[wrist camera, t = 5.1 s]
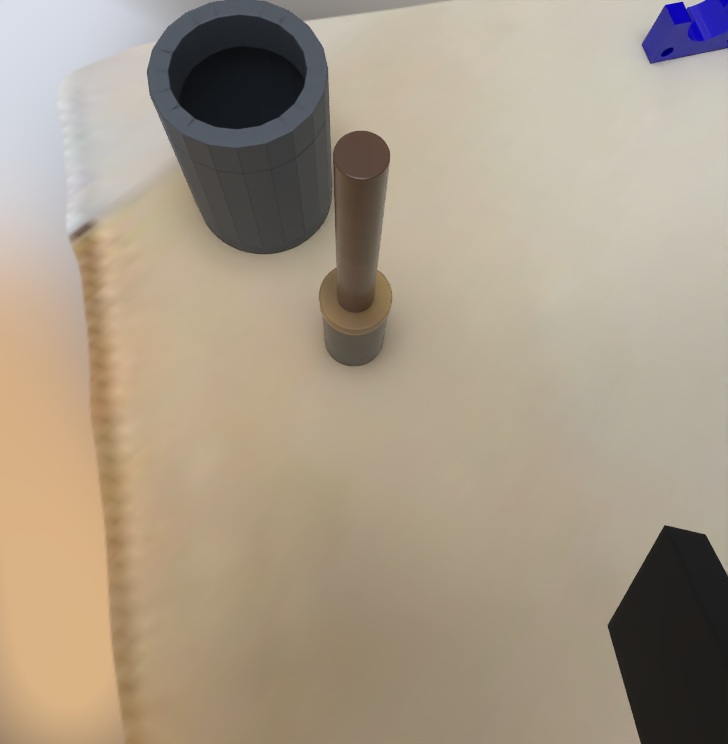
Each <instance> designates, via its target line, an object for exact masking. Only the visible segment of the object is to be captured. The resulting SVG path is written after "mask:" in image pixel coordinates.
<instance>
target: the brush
mask: <svg viewBox="0 0 728 744" xmlns="http://www.w3.org/2000/svg"><path fill="white" fill-rule="evenodd" d="M333 163H334V197H335V231H336V265H337V268H335V269H334V270H332V271H331V272H330V273H329V274H328V275H327V276H326V277H325V279H324V280H323V282H322V284H321V287H320V292H319V301H320V309H321V312H322V315H323V326H324V336H325V344H326V348H327V350H328V352H329V353H330V355H331V356H332V357H333V358H334V359H335V360H337V361H338V362H340V363H342V364H345V365H349V366H359V365H363V364H366V363H368V362H370V361H371V360H373V359H374V358H375V357H376V356H377V354H378V353H379V351H380V349H381V347H382V343H383V337H384V332H385V326H386V321H387V317H388V315H389V312H390V308H391V303H392V291H391V287H390V285H389V282H388V281H387V279H386V278H385V276H384V275H383V274H382V273H381V272H380V271H378V270H377V266H378V258H379V249H380V240H381V232H382V223H383V215H384V206H385V198H386V189H387V180H388V172H389V163H390V151H389V148H388V146H387V144H386V143H385V141H384V140H383V139H382V138H381V137H379V136H378V135H376V134H374V133H371V132H368V131H355V132H351V133H349V134H347V135H345V136H343V137H342V138H341V139H340V140H339V141H338V143H337V144H336V146H335V148H334V153H333Z"/></svg>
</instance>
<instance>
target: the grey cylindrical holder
mask: <svg viewBox="0 0 728 744" xmlns="http://www.w3.org/2000/svg"><path fill="white" fill-rule="evenodd" d="M147 77H148V84H149V92H150V96H151V99H152V101H153V103H154V106H155V108H156V110H157V113H158V115H159V117H160V120H161V122H162V124H163V127H164V129H165V131H166V134H167V136H168V138H169V141H170V143H171V145H172V148H173V150H174V152H175V155H176V157H177V159H178V162H179V164H180V166H181V169H182V171H183V173H184V176H185V178H186V180H187V183H188V185H189V187H190V189H191V192H192V194H193V196H194V199H195V201H196V203H197V206H198V208H199V210H200V211H201V213H202V216H203V218H204V220H205V222H206V224H207V225H208V227H209V228H210V229H211V231H212V232H213V233H214V234H215V235H216V236H217V237H218V238H220V239H221V240H222V241H223V242H225V243H227V244H228V245H230V246H232V247H234V248H237V249H239V250H243V251H246V252H251V253H260V254H268V253H276V252H281V251H285V250H288V249H291V248H293V247H295V246H297V245H300V244H301V243H303V242H304V241H306V240H307V239H308V238H310V237H311V236H312V235H313V234H314V233H315V232H316V231H317V230H318V229H319V228H320V226H321V225H322V223H323V222H324V220H325V218H326V216H327V214H328V211H329V208H330V204H331V193H332V191H331V189H332V171H331V142H330V114H329V84H328V67H327V62H326V58H325V53H324V49H323V47H322V45H321V43H320V42H319V40H318V39H317V37H316V36H315V34H314V33H313V31H312V30H311V28H310V27H309V26H308V25H307V24H306V23H304V22H303V21H302V20H301V19H299V18H297V16H295V15H294V14H293V13H292V12H290V11H289V10H286V9H284V8H281V7H279V6H276V5H274V4H271V3H268V2H265V1H258V0H224V1H217V2H213V3H208V4H206V5H204V6H201V7H199V8H196V9H194V10H191V11H189V12H188V13H185V14H184V15H182V16H181V17H180V18H179V19H177V20H176V21H175V22H174V23H172V24H171V25H170V26H168V27H167V29H166V30H165V31H164V33H163V34H162V36H161V37H160V39H159V40H158V42H157V43H156V45H155V46H154V48H153V49H152V53H151V57H150V61H149V65H148V69H147Z"/></svg>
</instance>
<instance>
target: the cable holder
mask: <svg viewBox="0 0 728 744" xmlns="http://www.w3.org/2000/svg"><path fill="white" fill-rule="evenodd" d="M642 46H643V48H644V50H645V52H646V54H647V56H648V59H649V61H650V63H655V62H660V61H665V60H669V59H674V58H679V57H684V56H689V55H694V54H699V53H704V52H709V51H714V50H719V49H724V48H728V0H705V1H703V2H702V3H699V4H697V5H695V6H692V7H688V8H687V9H686V8H685V6H684V4H683V2H679V3H673V4H668V5H665V6H664V8H663V10H662V11H661V13H660V15H659V16H658V18H657V20H656V21H655V23H654V25H653V27H652V28H651V30H650V32H649V33H648V35H647V37H646V38H645V40H644V42H643V44H642Z"/></svg>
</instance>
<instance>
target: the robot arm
mask: <svg viewBox="0 0 728 744" xmlns="http://www.w3.org/2000/svg"><path fill="white" fill-rule="evenodd" d="M608 629H609V632H610V636H611V639H612V643H613V646H614V650H615V654H616V657H617V661H618V664H619V668H620V671H621V675H622V678H623V682H624V685H625V689H626V692H627V696H628V699H629V703H630V706H631V710H632V713H633V717H634V720H635V724H636V728H637V731H638V735H639V738H640V742H641V744H728V575H727V574H726V572H725V570H724V568H723V566H722V564H721V562H720V561H719V559H718V557H717V555H716V553H715V551H714V549H713V548H712V546H711V544H710V542H709V540H708V538H707V536H706V535H705V534H700V533H696V532H692V531H688V530H683V529H679V528H675V527H670V526H666V525H665V526H664V527H663V529H662V531H661V533H660V534H659V536H658V538H657V540H656V541H655V543H654V545H653V547H652V548H651V550H650V552H649V554H648V555H647V557H646V559H645V561H644V562H643V564H642V566H641V568H640V569H639V571H638V573H637V575H636V576H635V578H634V580H633V582H632V583H631V585H630V587H629V589H628V591H627V592H626V594H625V596H624V598H623V599H622V601H621V603H620V605H619V606H618V608H617V610H616V612H615V613H614V615H613V617H612V619H611V620H610V622H609V624H608Z"/></svg>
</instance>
